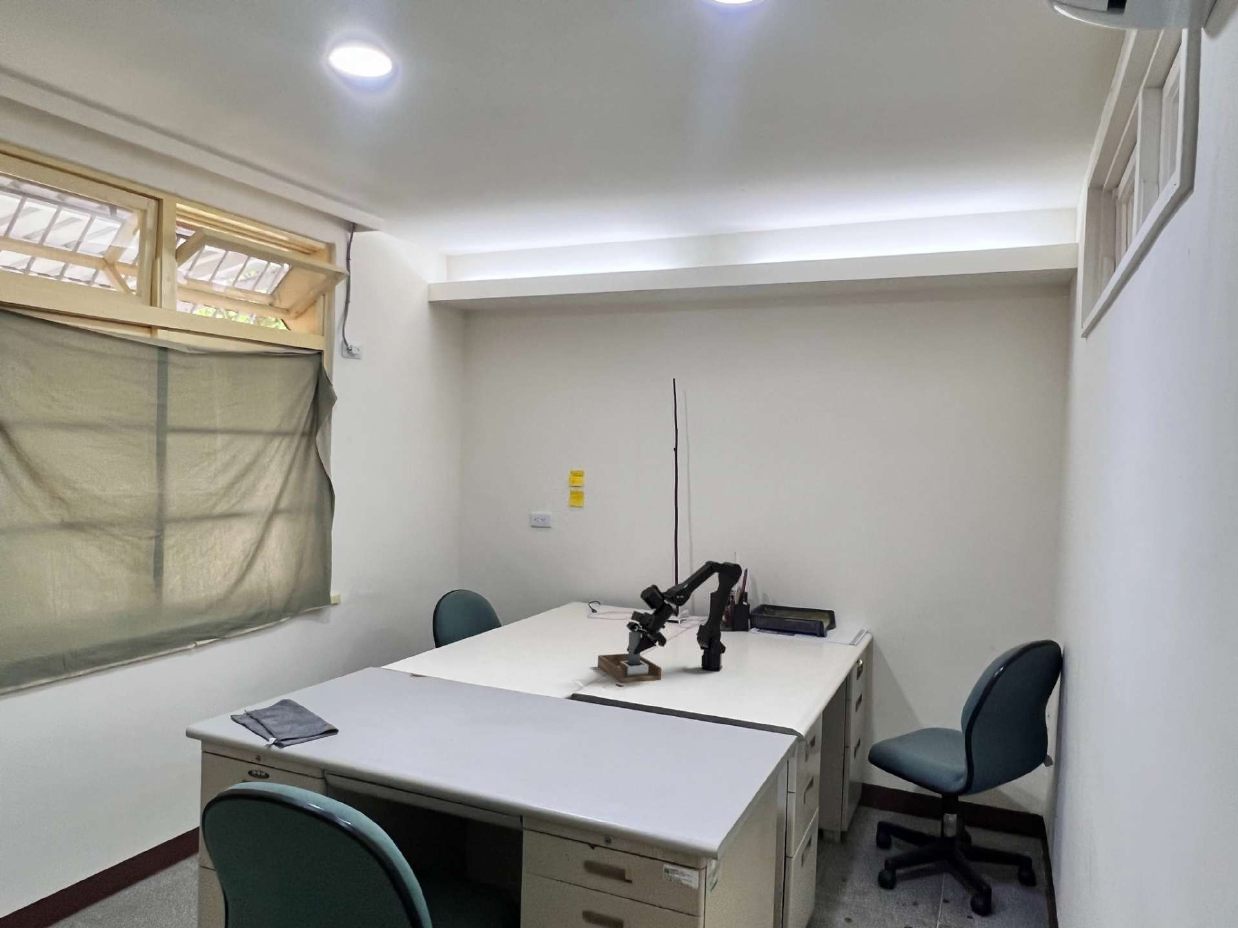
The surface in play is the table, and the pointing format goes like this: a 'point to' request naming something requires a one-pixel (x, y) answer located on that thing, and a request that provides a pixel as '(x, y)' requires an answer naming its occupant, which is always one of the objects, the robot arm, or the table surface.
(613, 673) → the box
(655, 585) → the robot arm
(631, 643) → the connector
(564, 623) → the table surface
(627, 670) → the frame
